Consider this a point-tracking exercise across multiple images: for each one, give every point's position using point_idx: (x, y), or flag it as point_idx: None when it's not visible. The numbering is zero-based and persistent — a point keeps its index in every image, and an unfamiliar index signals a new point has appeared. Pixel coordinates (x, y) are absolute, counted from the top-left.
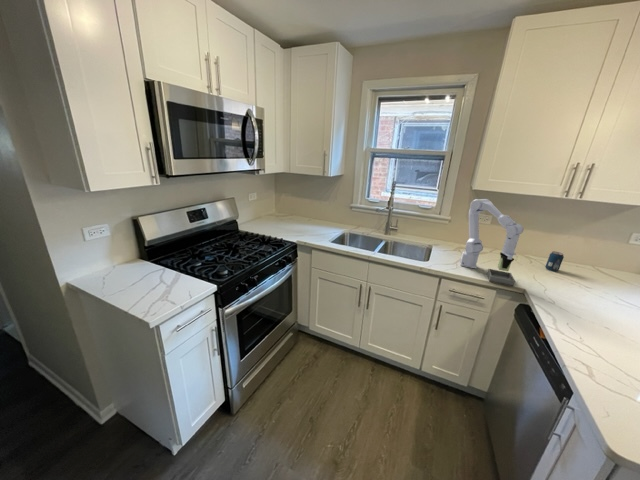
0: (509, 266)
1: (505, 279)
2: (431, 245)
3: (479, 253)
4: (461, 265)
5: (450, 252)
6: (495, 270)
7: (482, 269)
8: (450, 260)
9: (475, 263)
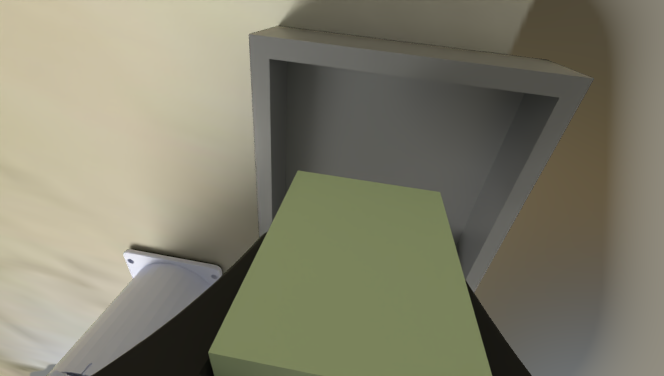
0: (456, 270)
1: (530, 191)
2: (18, 365)
3: (55, 373)
4: None
5: (31, 319)
6: (272, 212)
7: (197, 227)
8: None
9: (183, 303)
